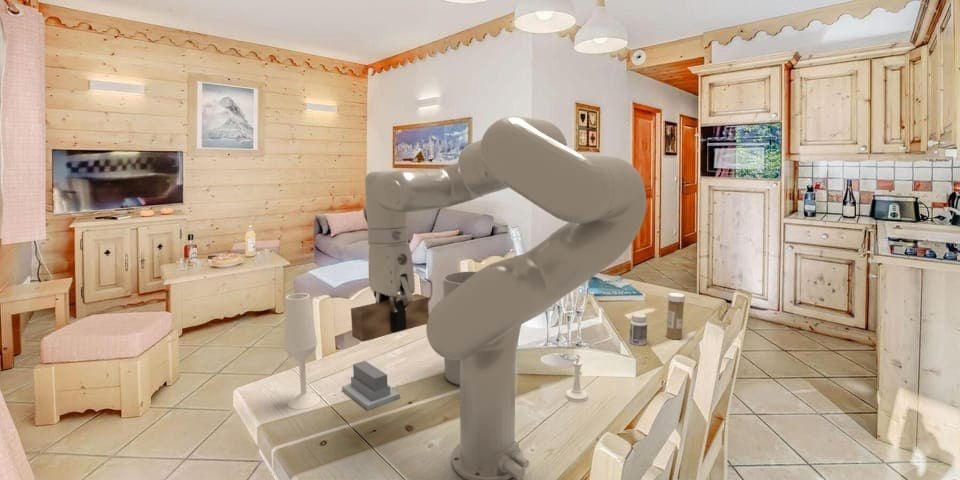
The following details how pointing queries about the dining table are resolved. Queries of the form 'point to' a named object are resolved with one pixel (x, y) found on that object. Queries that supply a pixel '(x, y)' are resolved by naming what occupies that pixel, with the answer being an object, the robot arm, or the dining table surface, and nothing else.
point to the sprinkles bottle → (675, 315)
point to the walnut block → (386, 318)
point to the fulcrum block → (369, 386)
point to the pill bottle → (638, 329)
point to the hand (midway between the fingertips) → (392, 326)
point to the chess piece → (576, 384)
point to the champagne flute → (300, 342)
